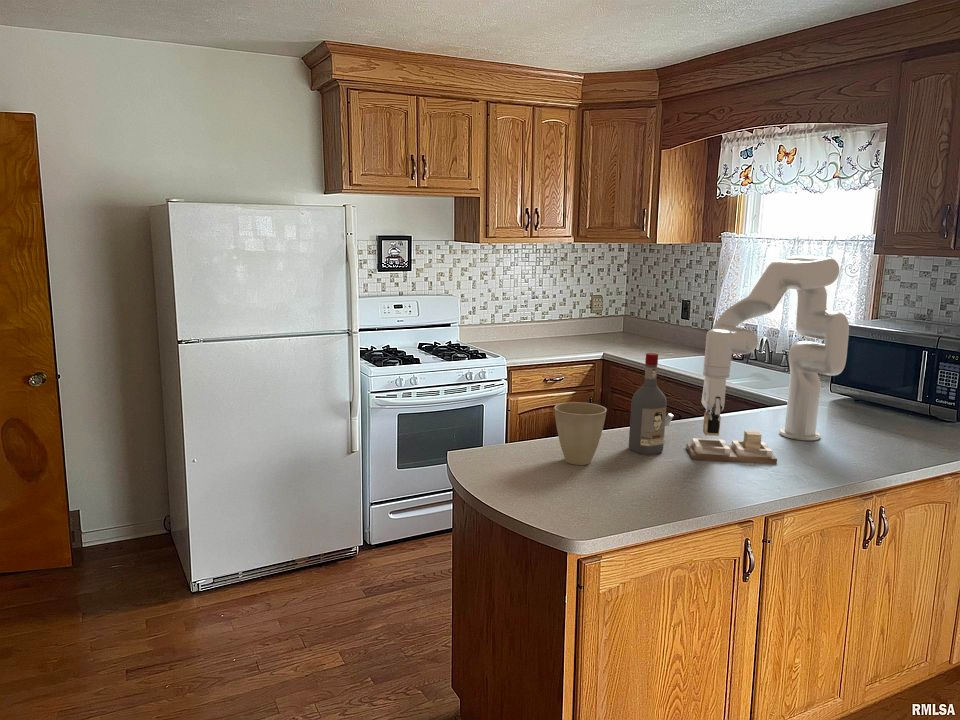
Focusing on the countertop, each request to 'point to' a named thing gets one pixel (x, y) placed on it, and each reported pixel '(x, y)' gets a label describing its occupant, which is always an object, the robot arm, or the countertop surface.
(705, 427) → the tan wooden block
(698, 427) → the countertop surface
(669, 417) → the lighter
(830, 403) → the countertop surface
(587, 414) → the plant pot
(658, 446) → the liquor
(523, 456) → the countertop surface
